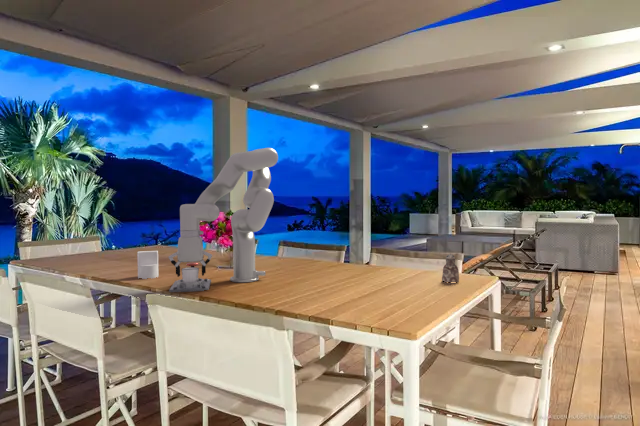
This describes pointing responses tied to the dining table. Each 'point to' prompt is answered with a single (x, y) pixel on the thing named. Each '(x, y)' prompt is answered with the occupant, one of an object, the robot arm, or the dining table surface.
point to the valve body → (191, 283)
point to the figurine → (450, 270)
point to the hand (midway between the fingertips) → (190, 275)
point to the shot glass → (190, 274)
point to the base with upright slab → (147, 264)
